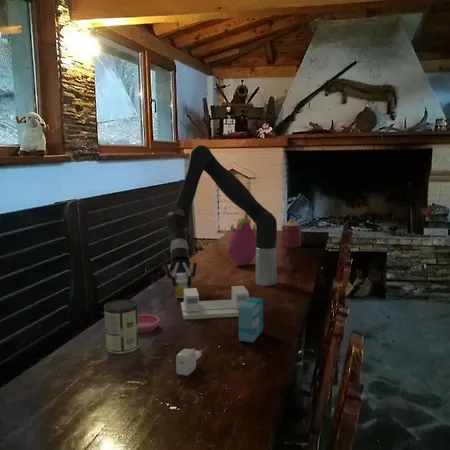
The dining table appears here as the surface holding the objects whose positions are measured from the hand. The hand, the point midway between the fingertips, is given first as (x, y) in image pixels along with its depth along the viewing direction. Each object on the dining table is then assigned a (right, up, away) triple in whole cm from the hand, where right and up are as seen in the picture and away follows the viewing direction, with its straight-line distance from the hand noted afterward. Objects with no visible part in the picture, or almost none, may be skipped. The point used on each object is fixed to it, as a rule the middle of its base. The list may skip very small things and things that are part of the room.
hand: (182, 285), depth 201 cm
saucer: (-11, -11, -31) cm, 35 cm away
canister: (+60, +11, +111) cm, 127 cm away
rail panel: (+14, -8, -13) cm, 21 cm away
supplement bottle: (0, -5, +3) cm, 6 cm away
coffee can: (-15, -14, -48) cm, 52 cm away
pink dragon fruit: (+27, +3, +59) cm, 65 cm away
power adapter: (+8, -16, -62) cm, 65 cm away
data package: (+27, -12, -39) cm, 49 cm away
